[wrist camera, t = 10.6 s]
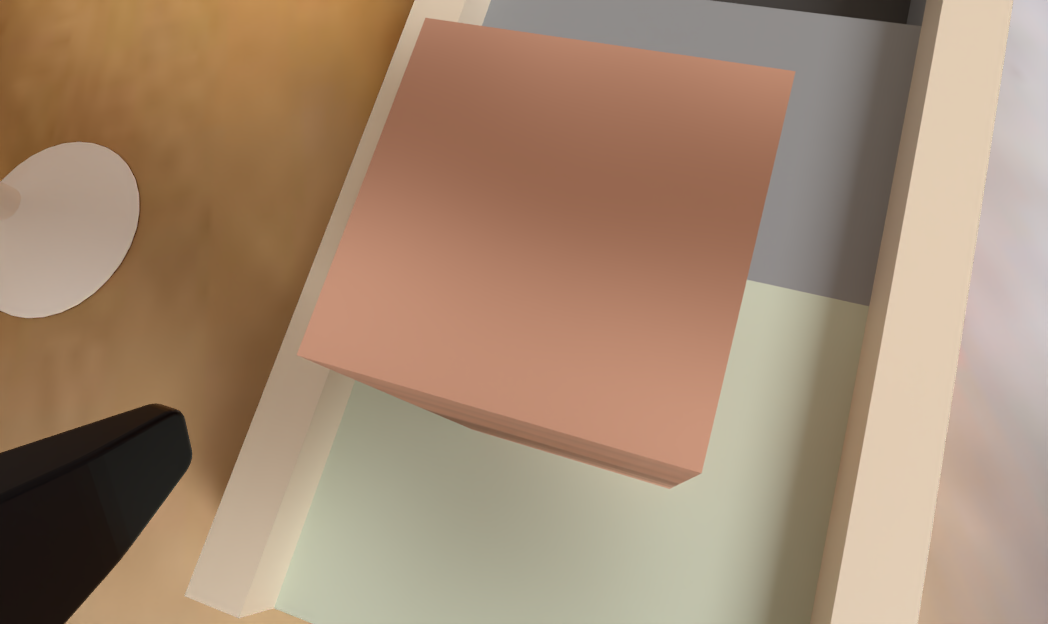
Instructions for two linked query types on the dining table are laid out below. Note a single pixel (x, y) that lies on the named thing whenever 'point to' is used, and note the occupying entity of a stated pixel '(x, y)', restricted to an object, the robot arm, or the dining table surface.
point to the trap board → (747, 391)
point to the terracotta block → (557, 243)
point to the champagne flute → (63, 227)
